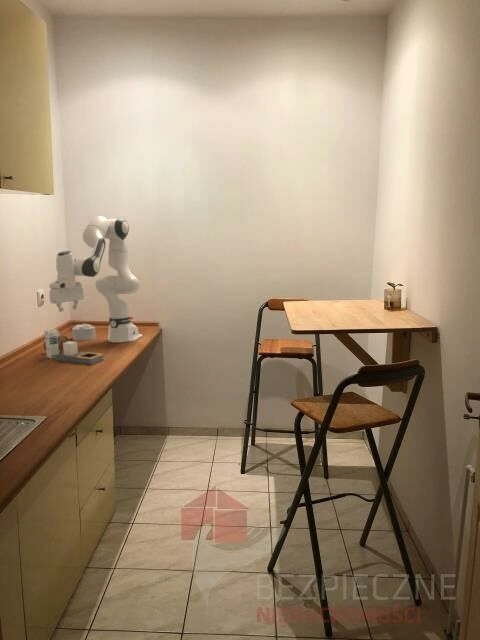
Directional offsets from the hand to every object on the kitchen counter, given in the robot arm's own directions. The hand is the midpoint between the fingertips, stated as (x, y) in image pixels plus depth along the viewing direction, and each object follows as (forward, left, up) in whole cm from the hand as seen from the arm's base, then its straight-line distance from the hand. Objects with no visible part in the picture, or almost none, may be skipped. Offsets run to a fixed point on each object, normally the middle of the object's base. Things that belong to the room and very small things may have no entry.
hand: (68, 310), depth 275 cm
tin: (-9, -19, -26) cm, 33 cm away
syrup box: (+1, -12, -26) cm, 29 cm away
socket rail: (+1, +6, -26) cm, 27 cm away
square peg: (+1, 0, -26) cm, 26 cm away
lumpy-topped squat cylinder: (-40, -26, -26) cm, 54 cm away
